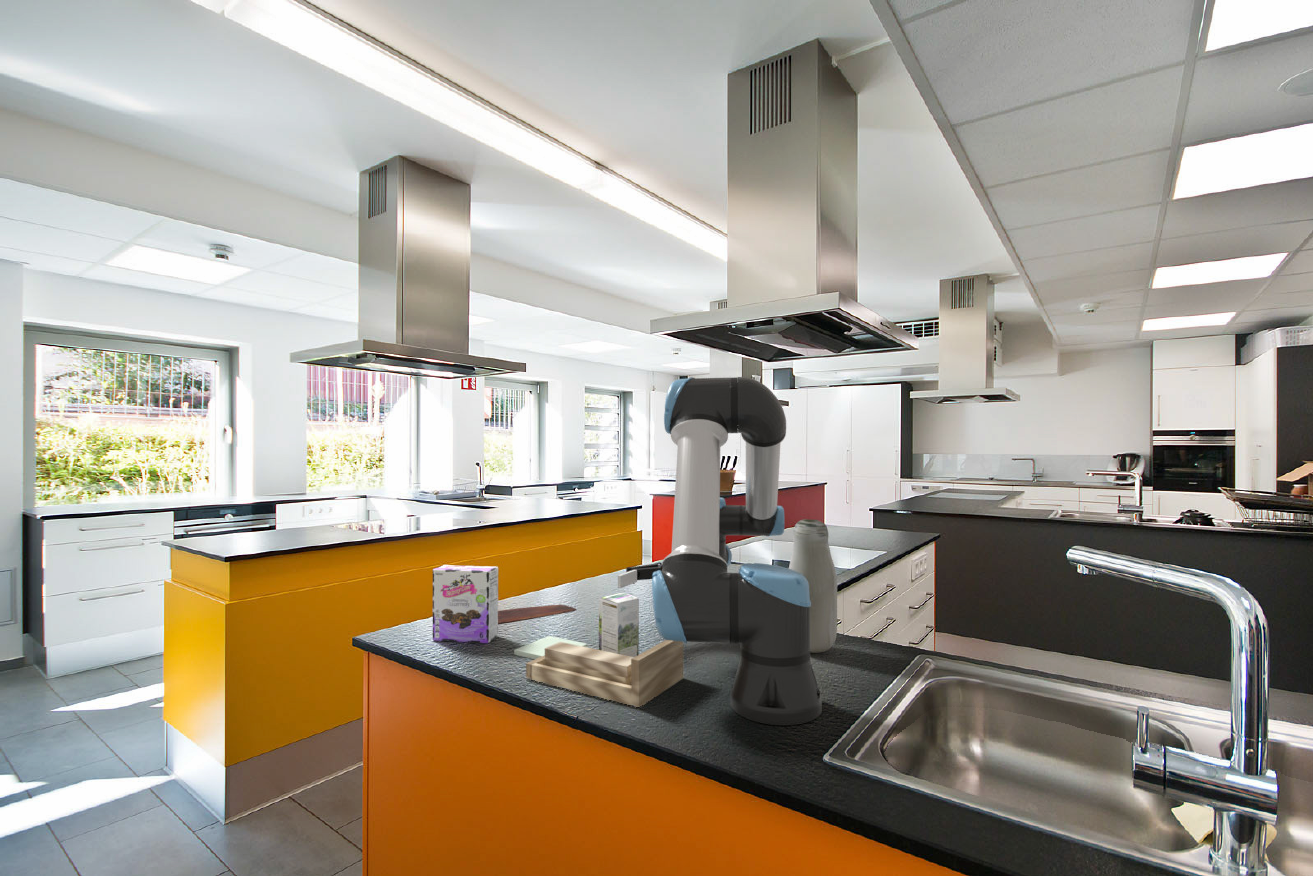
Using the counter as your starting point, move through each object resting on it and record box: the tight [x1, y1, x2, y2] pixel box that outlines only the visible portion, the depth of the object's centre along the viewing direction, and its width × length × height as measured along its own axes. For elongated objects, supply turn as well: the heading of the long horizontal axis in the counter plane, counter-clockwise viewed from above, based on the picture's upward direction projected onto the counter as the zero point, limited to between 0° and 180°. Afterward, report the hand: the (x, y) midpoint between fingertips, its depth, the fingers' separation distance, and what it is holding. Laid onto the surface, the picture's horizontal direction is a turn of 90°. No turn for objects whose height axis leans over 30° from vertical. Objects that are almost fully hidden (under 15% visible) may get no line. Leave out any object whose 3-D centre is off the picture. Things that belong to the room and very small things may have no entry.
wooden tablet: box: [498, 604, 577, 625], centre depth 162 cm, size 26×2×10 cm
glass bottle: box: [788, 518, 838, 654], centre depth 132 cm, size 10×10×28 cm
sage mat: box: [513, 635, 589, 660], centre depth 133 cm, size 11×11×1 cm
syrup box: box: [598, 592, 640, 657], centre depth 121 cm, size 6×6×14 cm
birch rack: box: [525, 639, 684, 708], centre depth 117 cm, size 26×16×8 cm, turn 59°
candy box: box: [432, 564, 499, 644], centre depth 142 cm, size 14×6×16 cm, turn 80°
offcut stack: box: [543, 642, 634, 686], centre depth 114 cm, size 20×4×6 cm, turn 58°
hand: (645, 585), depth 130 cm, fingers open, 13 cm apart
